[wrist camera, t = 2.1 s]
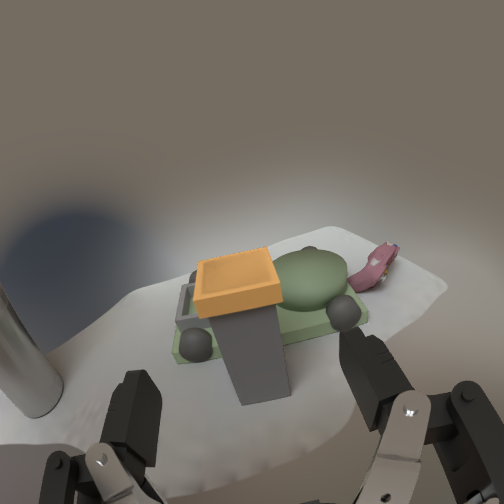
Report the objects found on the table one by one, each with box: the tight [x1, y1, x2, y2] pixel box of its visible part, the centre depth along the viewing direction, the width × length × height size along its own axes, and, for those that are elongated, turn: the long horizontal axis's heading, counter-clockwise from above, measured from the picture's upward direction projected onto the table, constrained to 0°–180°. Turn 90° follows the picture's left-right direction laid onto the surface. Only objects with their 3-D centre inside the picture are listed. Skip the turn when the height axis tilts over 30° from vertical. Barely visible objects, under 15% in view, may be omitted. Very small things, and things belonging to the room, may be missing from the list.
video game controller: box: [347, 241, 400, 292], centre depth 38 cm, size 10×5×7 cm, turn 136°
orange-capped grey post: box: [193, 247, 291, 405], centre depth 24 cm, size 6×6×14 cm
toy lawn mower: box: [172, 246, 368, 364], centre depth 38 cm, size 24×16×5 cm
